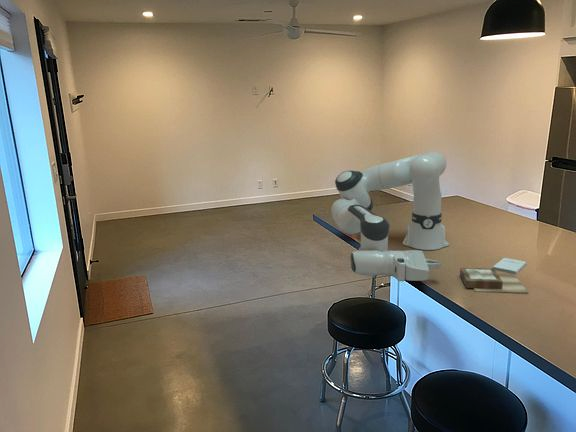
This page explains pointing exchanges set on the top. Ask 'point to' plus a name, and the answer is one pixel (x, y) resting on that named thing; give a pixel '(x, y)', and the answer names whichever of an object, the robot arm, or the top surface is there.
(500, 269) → the external hard drive
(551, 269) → the top surface
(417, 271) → the robot arm
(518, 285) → the beige square tray
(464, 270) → the walnut picture frame
